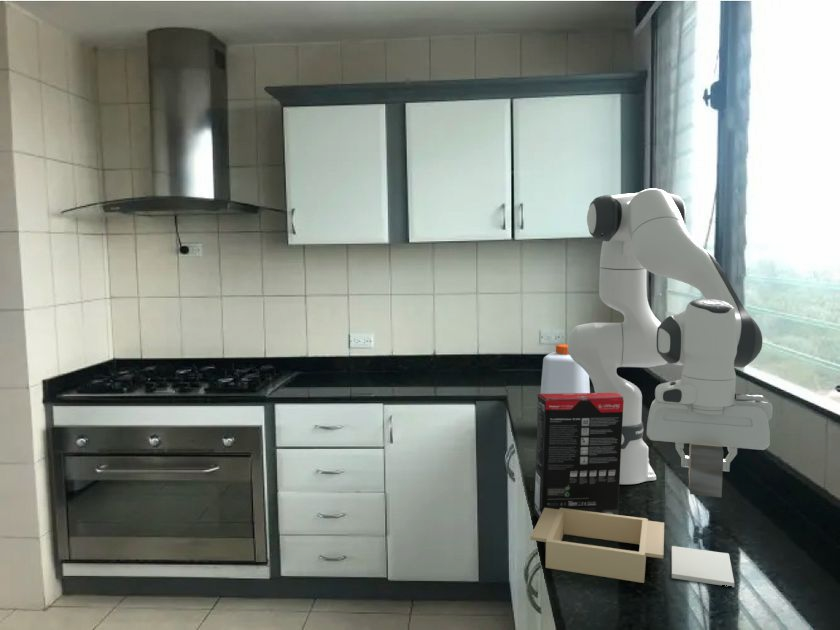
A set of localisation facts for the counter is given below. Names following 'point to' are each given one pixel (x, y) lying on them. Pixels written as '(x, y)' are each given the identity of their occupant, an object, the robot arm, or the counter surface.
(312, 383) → the counter surface
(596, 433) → the graphics card box
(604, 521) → the carton
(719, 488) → the block
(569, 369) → the plastic bottle
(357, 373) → the counter surface
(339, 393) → the counter surface
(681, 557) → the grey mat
